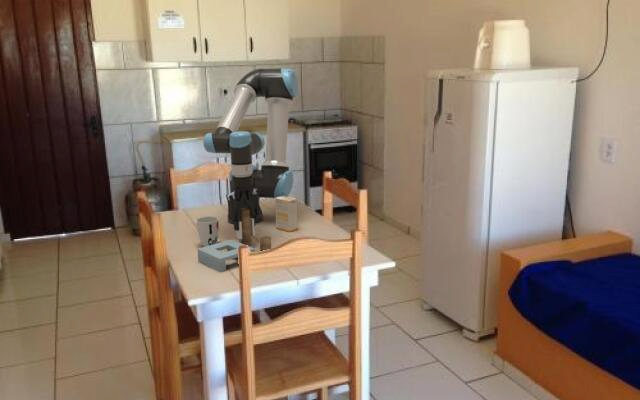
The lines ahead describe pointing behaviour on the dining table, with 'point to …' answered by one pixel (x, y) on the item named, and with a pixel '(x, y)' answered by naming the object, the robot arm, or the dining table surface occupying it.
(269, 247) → the short pin
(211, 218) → the cup
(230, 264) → the dining table surface
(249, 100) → the robot arm
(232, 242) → the square hole board
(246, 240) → the long pin
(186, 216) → the dining table surface
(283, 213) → the supplement box
